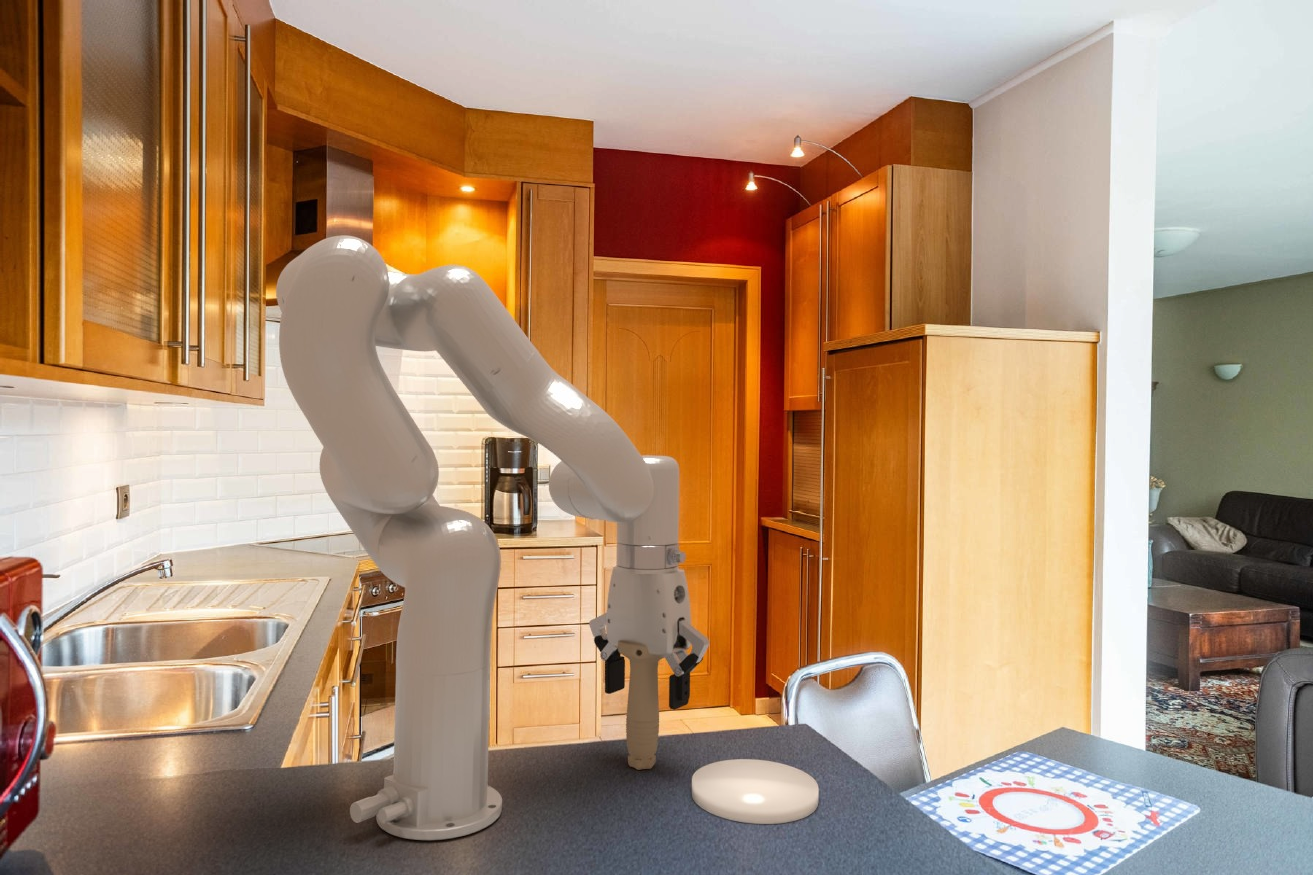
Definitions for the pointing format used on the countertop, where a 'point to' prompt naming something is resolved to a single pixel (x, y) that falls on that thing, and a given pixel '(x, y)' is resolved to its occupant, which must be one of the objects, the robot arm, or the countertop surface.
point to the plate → (755, 791)
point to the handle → (641, 705)
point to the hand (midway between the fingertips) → (645, 698)
